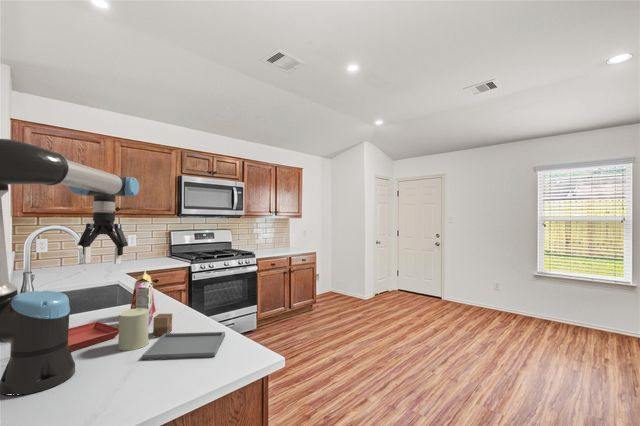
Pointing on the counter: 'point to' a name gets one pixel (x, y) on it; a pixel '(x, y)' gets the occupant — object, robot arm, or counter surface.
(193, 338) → the tray
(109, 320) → the counter surface
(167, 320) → the walnut block
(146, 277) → the milk carton
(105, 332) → the plant saucer
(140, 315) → the can
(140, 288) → the candy bar box
